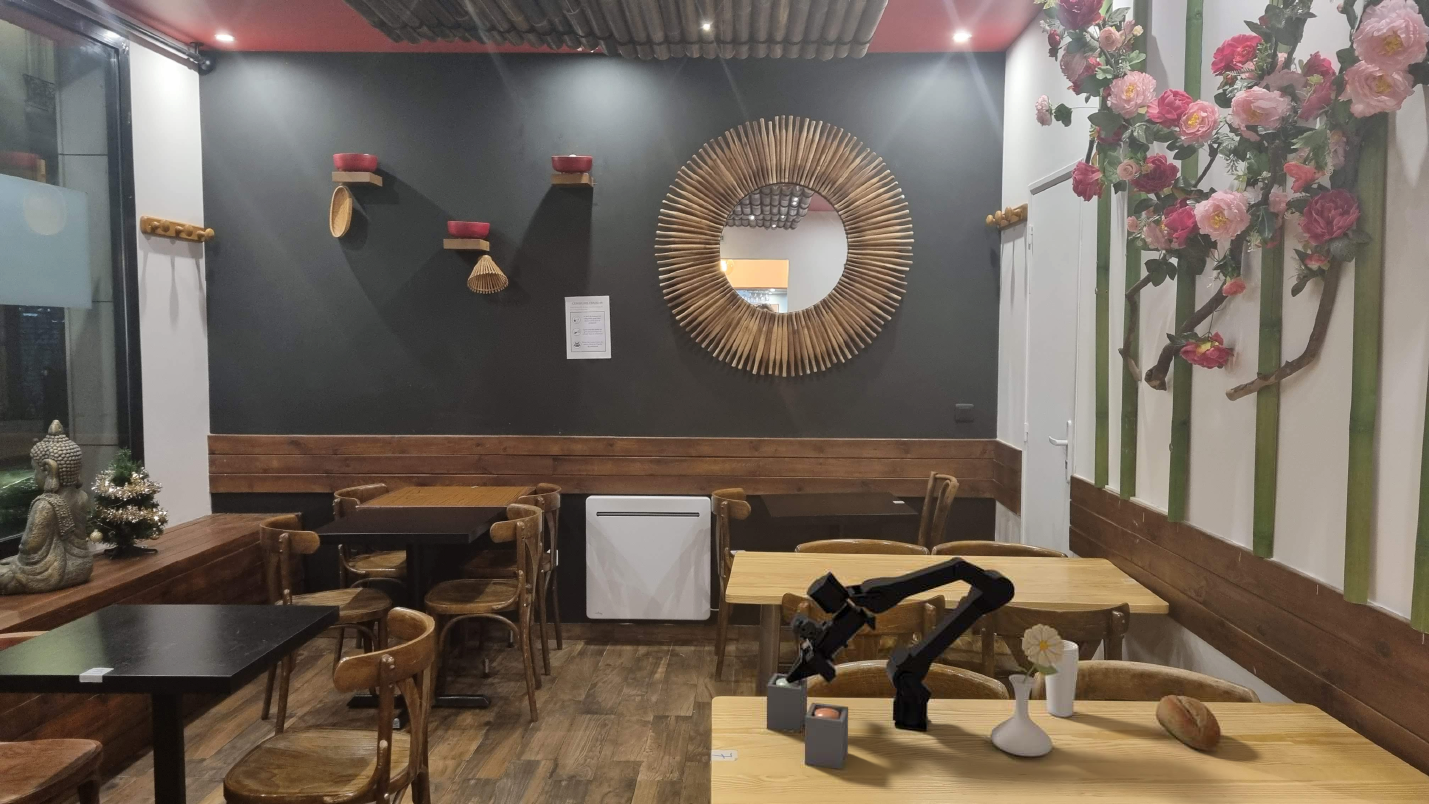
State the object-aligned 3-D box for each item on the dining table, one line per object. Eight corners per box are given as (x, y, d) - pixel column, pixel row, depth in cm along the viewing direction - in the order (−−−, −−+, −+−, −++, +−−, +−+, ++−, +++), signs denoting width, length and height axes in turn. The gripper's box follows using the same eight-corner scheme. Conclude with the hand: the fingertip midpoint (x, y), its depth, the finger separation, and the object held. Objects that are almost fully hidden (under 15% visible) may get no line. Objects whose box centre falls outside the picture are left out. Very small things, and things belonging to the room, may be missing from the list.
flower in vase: (989, 756, 160) (991, 627, 158) (991, 731, 170) (993, 610, 169) (1063, 768, 155) (1066, 636, 154) (1060, 742, 166) (1063, 618, 165)
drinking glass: (1080, 721, 176) (1082, 650, 175) (1046, 718, 177) (1047, 648, 176) (1073, 707, 182) (1074, 640, 181) (1040, 705, 183) (1041, 638, 183)
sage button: (800, 691, 175) (800, 679, 175) (795, 699, 171) (795, 687, 170) (778, 688, 176) (779, 676, 176) (773, 697, 172) (773, 685, 172)
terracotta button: (840, 722, 160) (841, 709, 160) (837, 732, 156) (837, 719, 155) (817, 719, 161) (817, 706, 161) (812, 729, 157) (812, 716, 157)
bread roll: (1185, 756, 160) (1187, 715, 160) (1142, 722, 175) (1143, 685, 175) (1234, 755, 161) (1235, 714, 160) (1186, 721, 176) (1187, 684, 175)
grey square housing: (847, 752, 161) (848, 706, 161) (842, 769, 154) (842, 722, 154) (811, 747, 163) (812, 702, 163) (804, 764, 157) (805, 717, 156)
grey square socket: (806, 718, 176) (807, 677, 176) (800, 733, 169) (800, 689, 169) (774, 714, 178) (774, 673, 178) (766, 728, 172) (766, 685, 171)
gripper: (807, 589, 182) (756, 638, 182) (819, 615, 163) (762, 671, 164) (843, 624, 182) (792, 674, 183) (859, 655, 164) (802, 710, 164)
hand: (787, 681), depth 173 cm, fingers closed, pressing on sage button
